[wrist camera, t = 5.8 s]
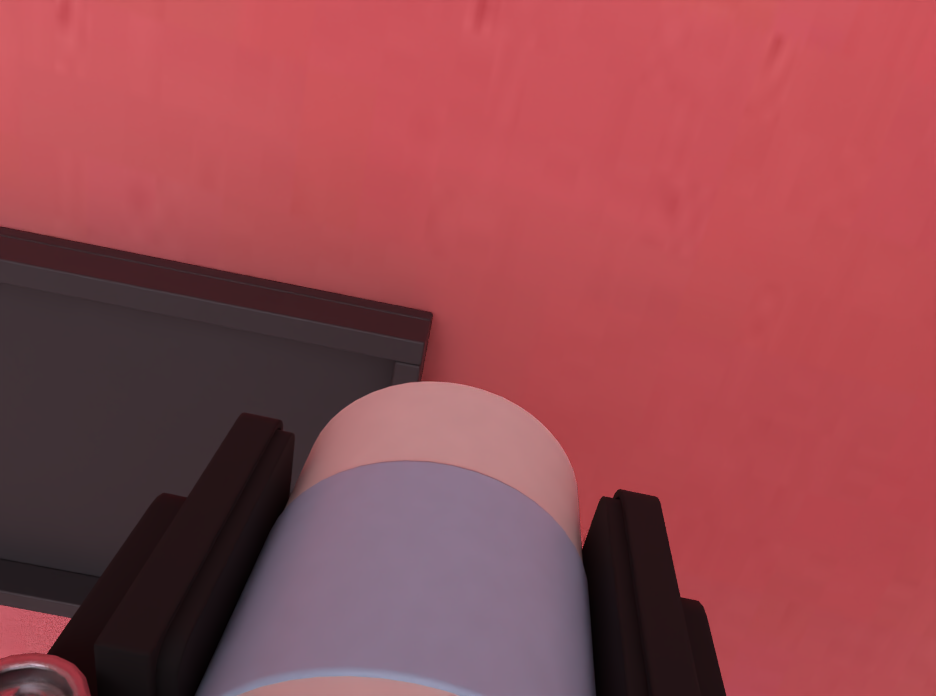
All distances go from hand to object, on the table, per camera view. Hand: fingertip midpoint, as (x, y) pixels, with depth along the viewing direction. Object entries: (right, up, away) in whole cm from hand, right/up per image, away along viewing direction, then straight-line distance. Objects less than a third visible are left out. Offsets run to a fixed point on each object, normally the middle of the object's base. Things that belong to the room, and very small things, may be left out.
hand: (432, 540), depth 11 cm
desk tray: (-12, 0, +16) cm, 20 cm away
